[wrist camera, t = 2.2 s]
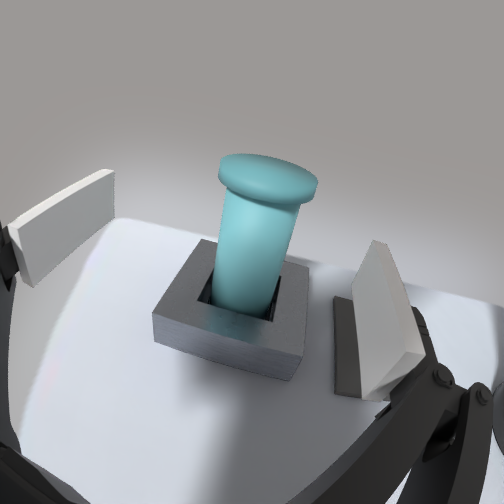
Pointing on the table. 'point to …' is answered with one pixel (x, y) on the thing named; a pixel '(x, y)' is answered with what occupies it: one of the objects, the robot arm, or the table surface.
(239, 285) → the teal capped cylinder
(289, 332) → the housing
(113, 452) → the table surface
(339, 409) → the table surface
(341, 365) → the mat
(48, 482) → the robot arm
